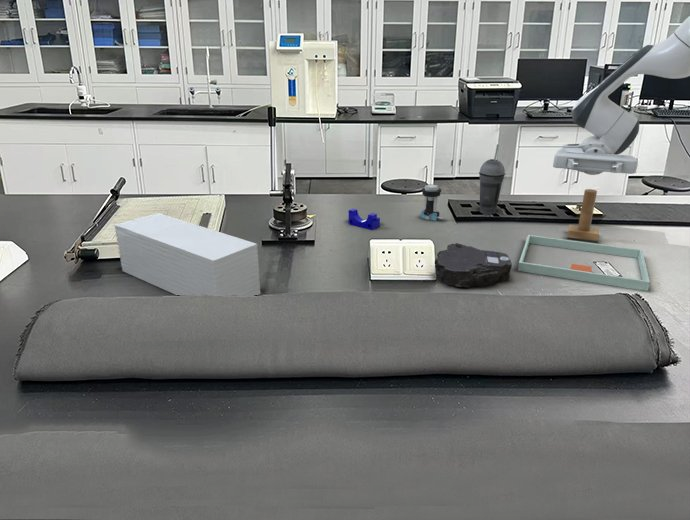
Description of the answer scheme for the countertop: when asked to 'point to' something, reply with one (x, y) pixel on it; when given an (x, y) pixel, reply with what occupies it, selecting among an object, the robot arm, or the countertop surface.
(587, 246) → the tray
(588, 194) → the brush
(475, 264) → the rock sample
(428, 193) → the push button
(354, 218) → the cable holder
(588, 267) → the felt chip
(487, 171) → the beverage cup
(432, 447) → the countertop surface
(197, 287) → the stack of papers
